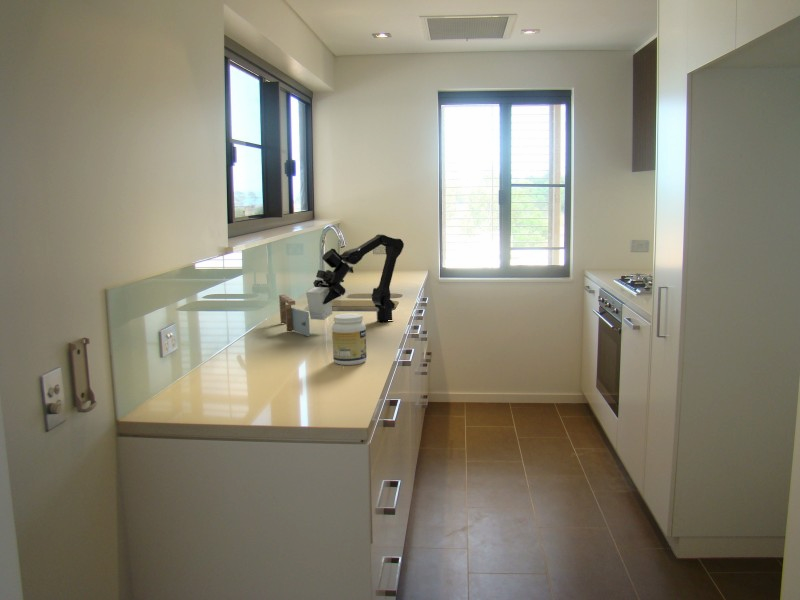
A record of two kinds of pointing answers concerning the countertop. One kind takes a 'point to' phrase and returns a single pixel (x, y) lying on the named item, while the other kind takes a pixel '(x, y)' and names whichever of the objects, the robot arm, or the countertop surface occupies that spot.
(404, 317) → the countertop surface
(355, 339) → the supplement tub
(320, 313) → the supplement box
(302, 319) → the door
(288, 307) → the door frame
